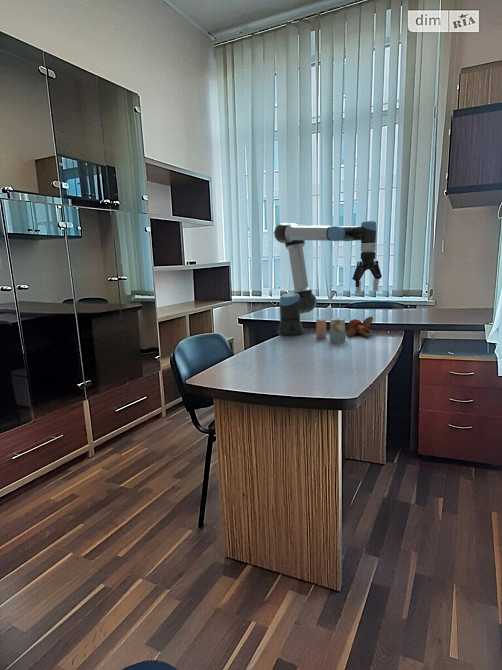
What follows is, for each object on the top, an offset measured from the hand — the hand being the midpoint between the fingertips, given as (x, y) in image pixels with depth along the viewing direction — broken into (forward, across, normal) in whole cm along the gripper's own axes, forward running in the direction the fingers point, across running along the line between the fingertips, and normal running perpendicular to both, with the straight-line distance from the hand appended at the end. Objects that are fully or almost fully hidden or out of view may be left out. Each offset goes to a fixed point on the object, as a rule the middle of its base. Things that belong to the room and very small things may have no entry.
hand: (366, 292), depth 216 cm
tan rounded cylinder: (+25, -19, +15) cm, 35 cm away
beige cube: (+19, -19, +3) cm, 27 cm away
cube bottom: (+25, -19, +3) cm, 31 cm away
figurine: (+25, +1, +6) cm, 26 cm away
